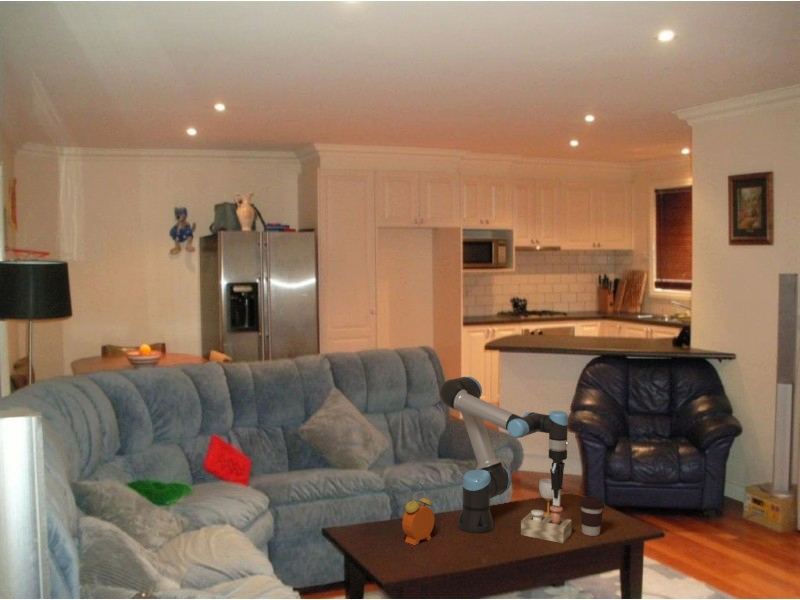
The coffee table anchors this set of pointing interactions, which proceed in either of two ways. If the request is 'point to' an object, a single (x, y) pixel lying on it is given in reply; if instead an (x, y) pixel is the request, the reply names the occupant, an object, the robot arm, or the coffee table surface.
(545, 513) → the cup
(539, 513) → the ivory plug
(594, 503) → the coffee cup
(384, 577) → the coffee table surface
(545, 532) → the beech block
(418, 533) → the alarm clock
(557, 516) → the terracotta plug
